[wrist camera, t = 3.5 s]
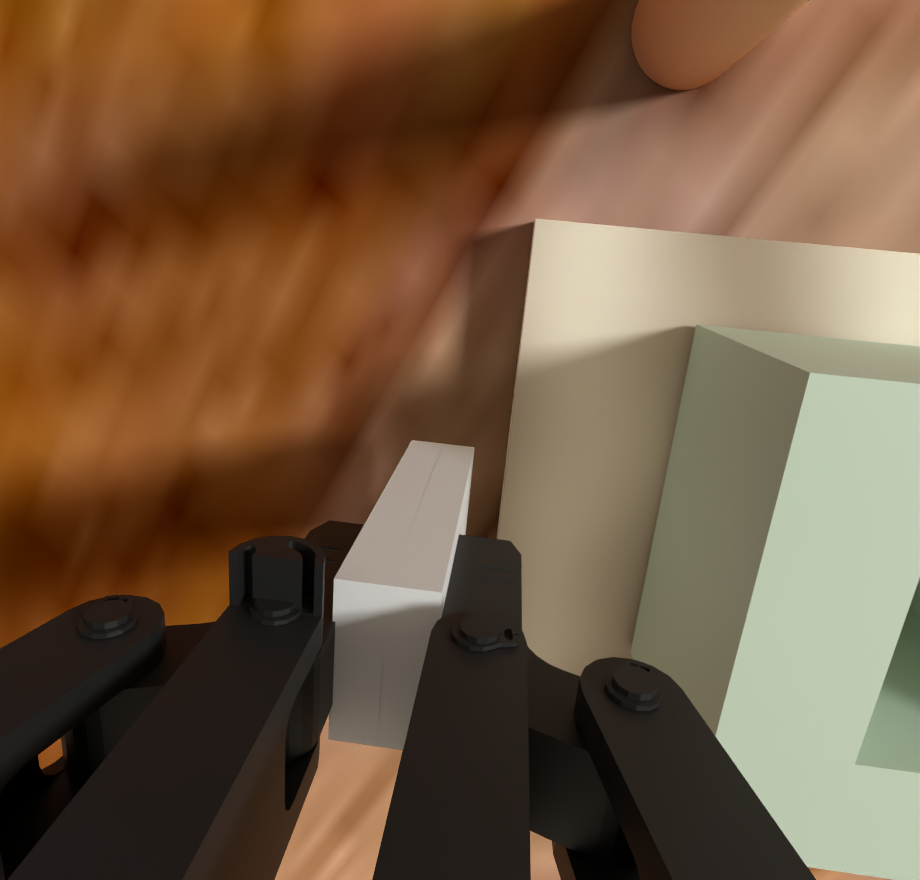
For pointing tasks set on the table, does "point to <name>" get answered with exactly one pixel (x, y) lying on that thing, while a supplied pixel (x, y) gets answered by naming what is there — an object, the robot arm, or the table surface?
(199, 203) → the table surface
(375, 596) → the robot arm
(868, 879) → the table surface
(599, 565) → the beige l-shaped bracket
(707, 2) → the dowel
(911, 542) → the block
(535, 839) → the table surface
